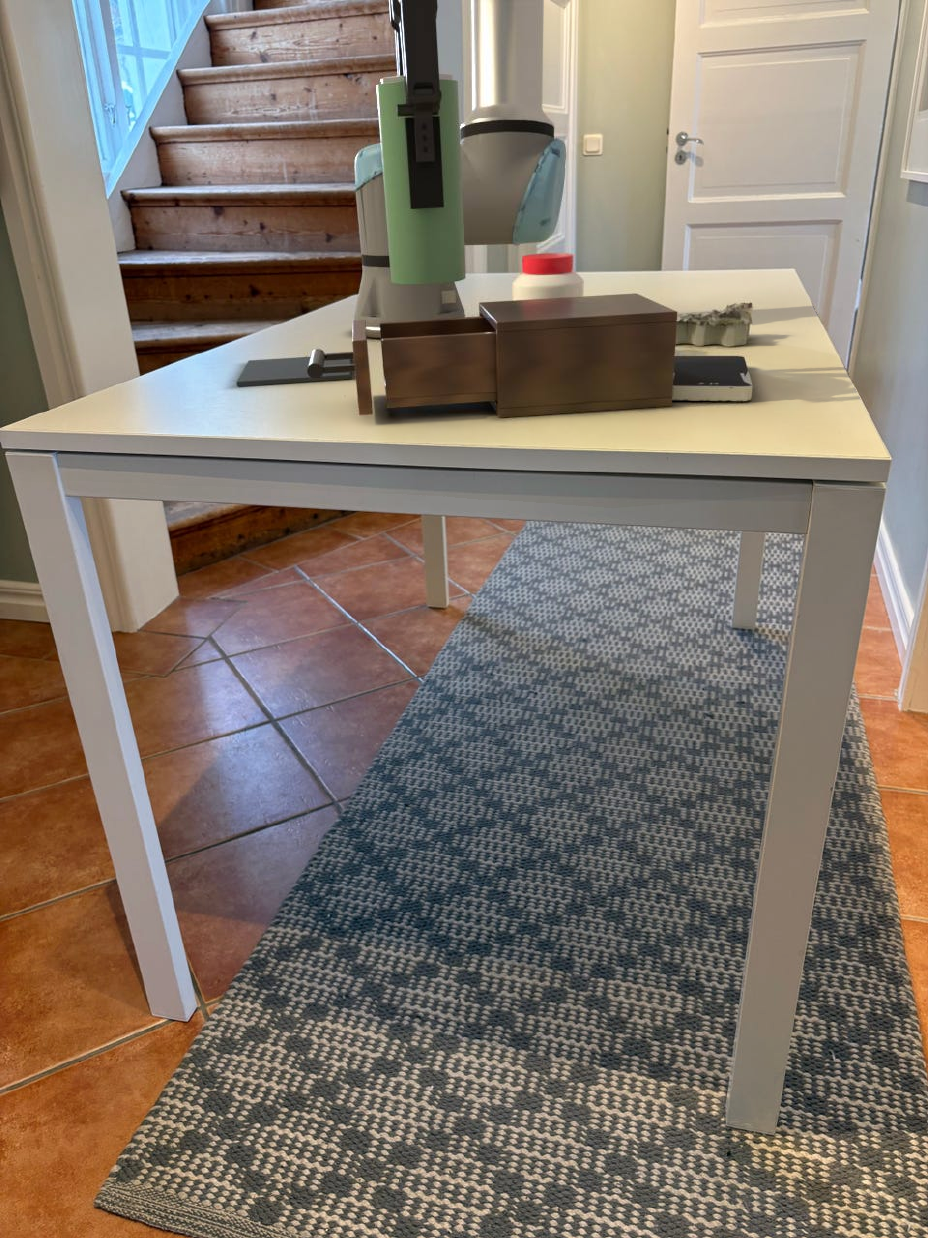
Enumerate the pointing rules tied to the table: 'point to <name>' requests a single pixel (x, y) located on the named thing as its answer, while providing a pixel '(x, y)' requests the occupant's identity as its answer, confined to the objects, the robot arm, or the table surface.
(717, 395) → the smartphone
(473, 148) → the robot arm
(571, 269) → the pill bottle
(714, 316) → the egg carton
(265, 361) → the mat
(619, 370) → the cabinet
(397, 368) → the drawer
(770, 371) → the table surface
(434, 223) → the can
